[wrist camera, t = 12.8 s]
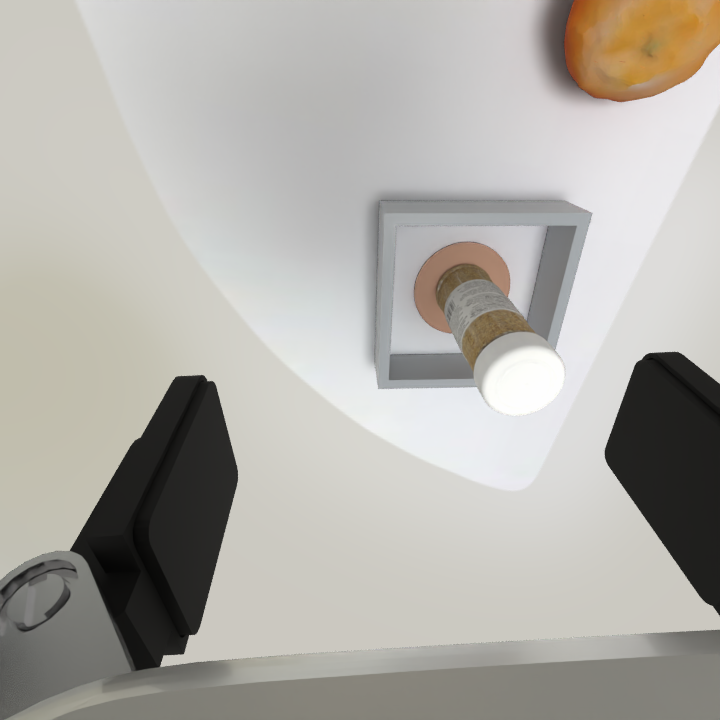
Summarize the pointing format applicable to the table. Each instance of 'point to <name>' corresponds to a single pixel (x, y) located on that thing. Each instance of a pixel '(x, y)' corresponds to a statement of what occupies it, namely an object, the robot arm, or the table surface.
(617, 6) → the fruit
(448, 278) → the sprinkles bottle
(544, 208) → the grey square tray
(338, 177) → the table surface
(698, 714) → the robot arm
